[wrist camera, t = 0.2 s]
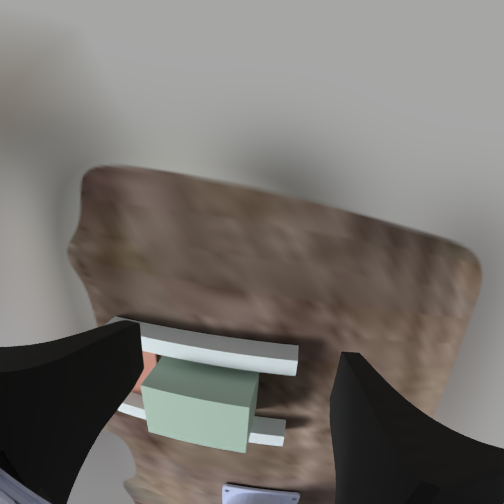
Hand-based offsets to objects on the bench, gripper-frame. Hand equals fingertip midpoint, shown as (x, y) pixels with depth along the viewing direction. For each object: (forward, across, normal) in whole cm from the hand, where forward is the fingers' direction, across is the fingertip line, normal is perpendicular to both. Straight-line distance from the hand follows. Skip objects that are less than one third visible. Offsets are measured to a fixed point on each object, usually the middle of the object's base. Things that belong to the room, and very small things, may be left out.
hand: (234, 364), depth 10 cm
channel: (+10, +4, +9) cm, 14 cm away
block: (+10, +3, +9) cm, 14 cm away
